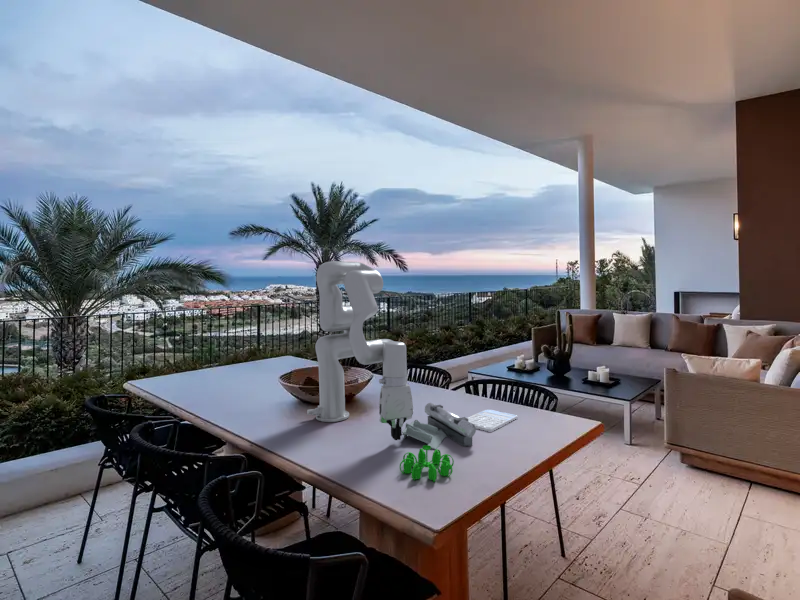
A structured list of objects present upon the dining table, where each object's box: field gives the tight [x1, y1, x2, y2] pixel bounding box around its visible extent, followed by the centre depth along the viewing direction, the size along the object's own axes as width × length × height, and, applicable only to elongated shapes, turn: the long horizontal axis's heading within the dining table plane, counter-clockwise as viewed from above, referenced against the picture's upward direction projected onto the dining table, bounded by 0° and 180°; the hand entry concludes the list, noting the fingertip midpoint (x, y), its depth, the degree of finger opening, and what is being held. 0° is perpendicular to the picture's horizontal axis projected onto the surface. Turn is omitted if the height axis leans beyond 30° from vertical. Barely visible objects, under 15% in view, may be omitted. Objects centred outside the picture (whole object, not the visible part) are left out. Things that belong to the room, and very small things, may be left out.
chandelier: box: [399, 444, 455, 483], centre depth 116 cm, size 15×15×7 cm
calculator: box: [466, 408, 518, 433], centre depth 157 cm, size 13×20×2 cm, turn 137°
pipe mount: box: [424, 402, 477, 448], centre depth 144 cm, size 4×26×7 cm, turn 24°
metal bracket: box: [401, 419, 448, 451], centre depth 140 cm, size 14×6×15 cm
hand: (396, 438), depth 136 cm, fingers closed
